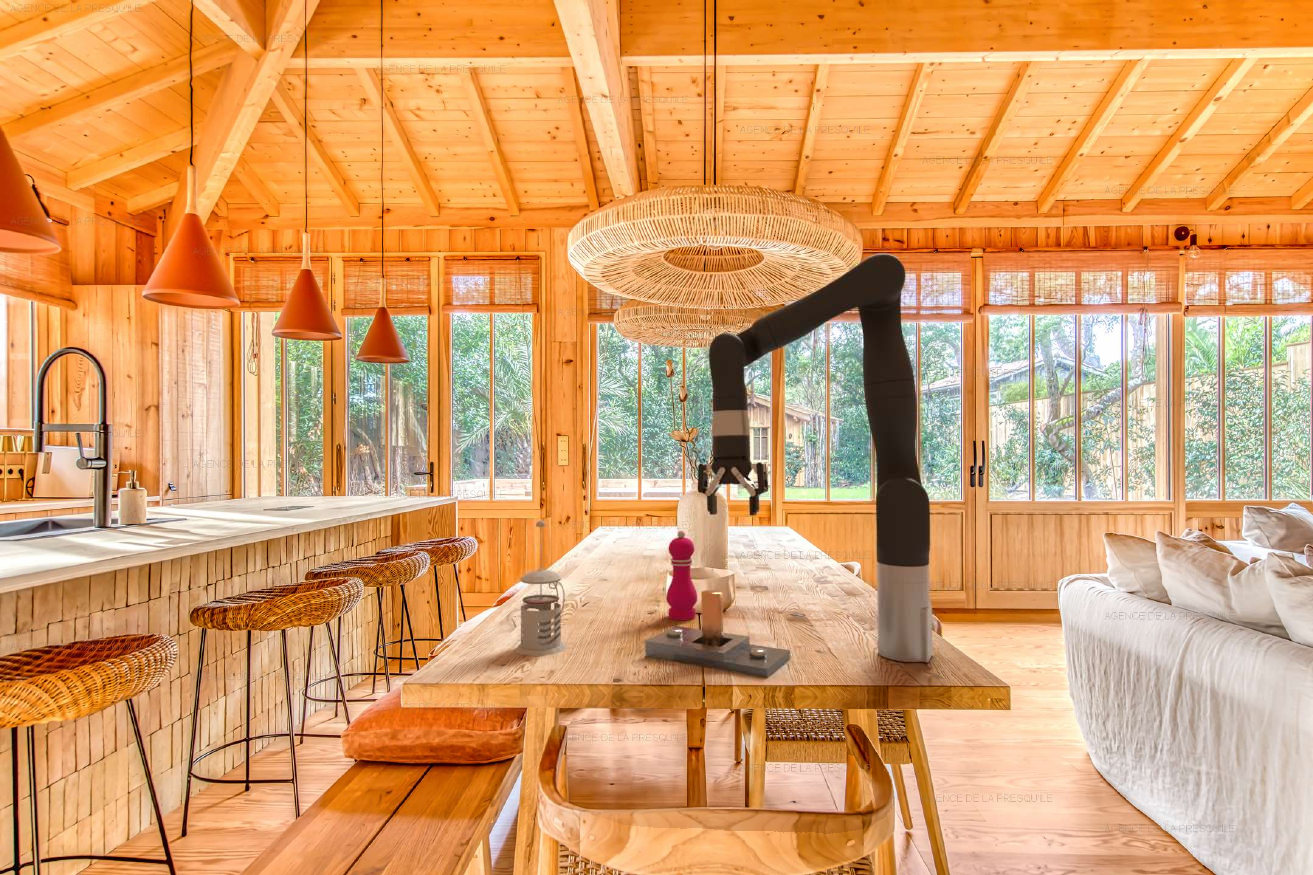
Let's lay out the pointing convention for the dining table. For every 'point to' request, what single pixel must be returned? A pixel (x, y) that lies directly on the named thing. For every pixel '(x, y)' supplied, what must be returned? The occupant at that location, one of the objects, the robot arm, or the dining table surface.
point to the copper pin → (712, 617)
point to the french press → (541, 614)
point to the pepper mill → (681, 579)
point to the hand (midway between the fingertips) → (732, 514)
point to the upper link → (692, 645)
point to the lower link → (744, 661)
